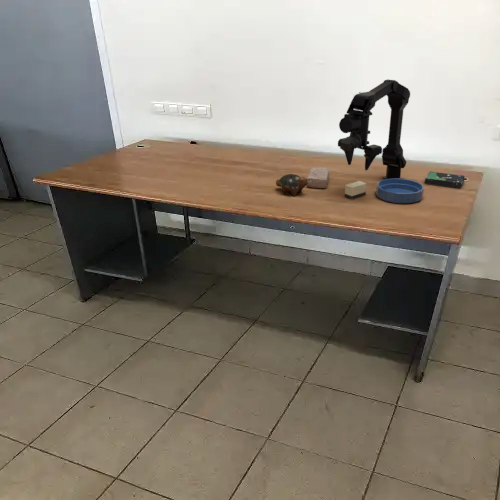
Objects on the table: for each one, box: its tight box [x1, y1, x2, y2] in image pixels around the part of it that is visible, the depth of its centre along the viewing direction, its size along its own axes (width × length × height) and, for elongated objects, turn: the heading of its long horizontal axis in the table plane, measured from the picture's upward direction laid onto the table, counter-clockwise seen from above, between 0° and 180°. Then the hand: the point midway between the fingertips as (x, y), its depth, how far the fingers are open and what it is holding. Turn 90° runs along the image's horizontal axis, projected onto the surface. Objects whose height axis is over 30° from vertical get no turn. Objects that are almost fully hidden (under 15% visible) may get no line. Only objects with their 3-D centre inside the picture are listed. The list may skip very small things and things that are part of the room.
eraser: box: [344, 180, 367, 200], centre depth 206 cm, size 8×4×5 cm, turn 125°
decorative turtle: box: [275, 173, 308, 197], centre depth 210 cm, size 10×15×8 cm, turn 57°
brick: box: [306, 167, 330, 189], centre depth 221 cm, size 16×8×5 cm, turn 168°
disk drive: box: [424, 171, 466, 189], centre depth 218 cm, size 10×3×15 cm
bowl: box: [375, 178, 425, 205], centre depth 205 cm, size 18×18×4 cm
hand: (357, 167), depth 202 cm, fingers open, 9 cm apart
